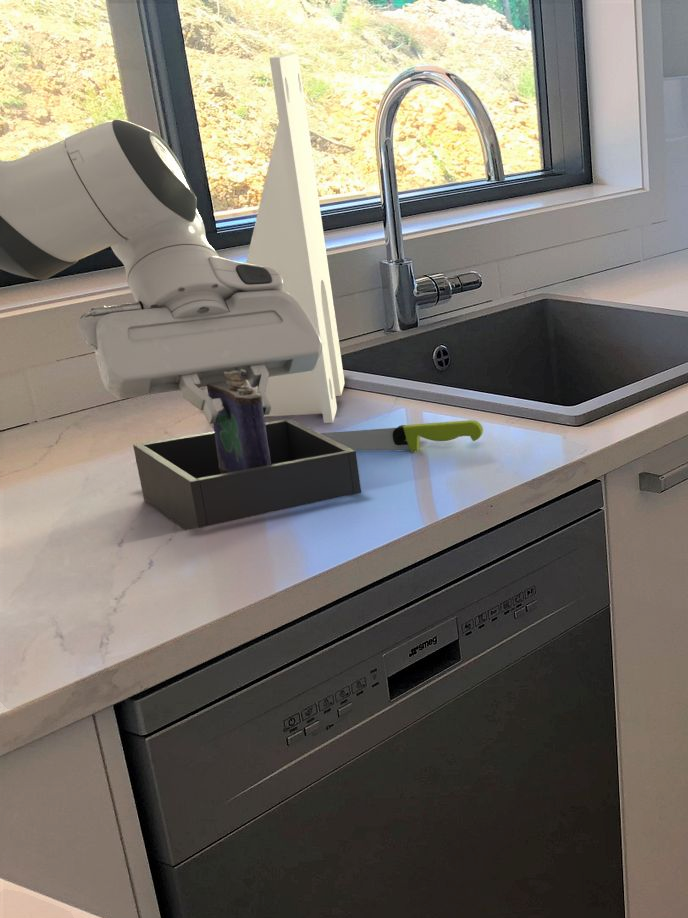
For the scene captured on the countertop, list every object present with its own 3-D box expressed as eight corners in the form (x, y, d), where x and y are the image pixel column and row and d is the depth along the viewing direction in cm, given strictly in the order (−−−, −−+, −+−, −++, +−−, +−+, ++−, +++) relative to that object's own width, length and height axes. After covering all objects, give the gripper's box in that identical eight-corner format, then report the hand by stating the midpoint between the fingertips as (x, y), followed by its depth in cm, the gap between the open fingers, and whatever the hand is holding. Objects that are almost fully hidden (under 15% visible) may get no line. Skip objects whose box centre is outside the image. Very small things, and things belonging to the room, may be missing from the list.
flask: (214, 471, 138) (199, 363, 134) (244, 466, 140) (230, 360, 136) (253, 492, 132) (238, 380, 128) (284, 487, 134) (270, 376, 130)
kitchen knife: (286, 462, 155) (279, 436, 153) (290, 459, 156) (284, 433, 155) (483, 448, 154) (478, 422, 153) (486, 445, 155) (481, 419, 154)
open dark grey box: (201, 542, 127) (190, 482, 125) (144, 501, 138) (132, 444, 135) (363, 507, 137) (356, 451, 135) (298, 471, 148) (290, 418, 145)
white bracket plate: (227, 389, 179) (168, 52, 163) (344, 383, 183) (298, 53, 166) (202, 429, 162) (133, 57, 145) (332, 422, 165) (279, 57, 149)
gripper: (73, 289, 127) (129, 415, 125) (293, 267, 140) (348, 381, 137) (69, 330, 132) (123, 452, 129) (282, 305, 145) (335, 416, 142)
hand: (241, 415), depth 133 cm, fingers closed on flask, 3 cm apart
